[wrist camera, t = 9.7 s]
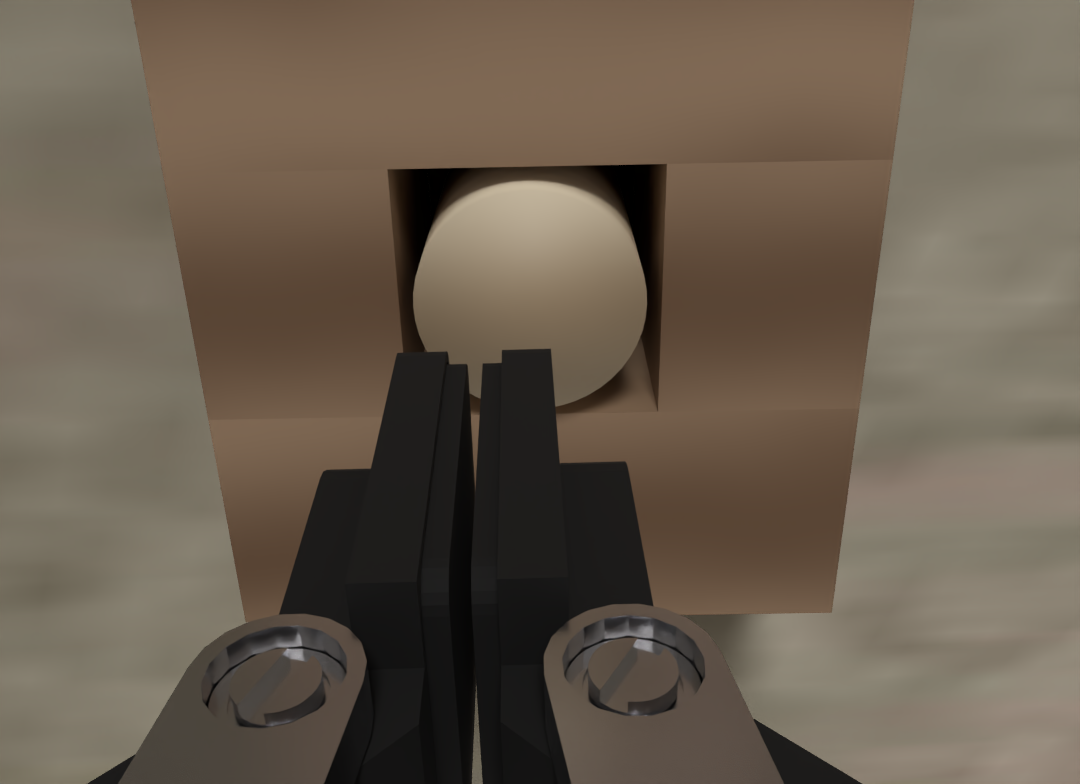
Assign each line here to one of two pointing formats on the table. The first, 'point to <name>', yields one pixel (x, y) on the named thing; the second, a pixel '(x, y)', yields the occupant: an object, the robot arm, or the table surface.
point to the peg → (533, 273)
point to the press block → (525, 141)
